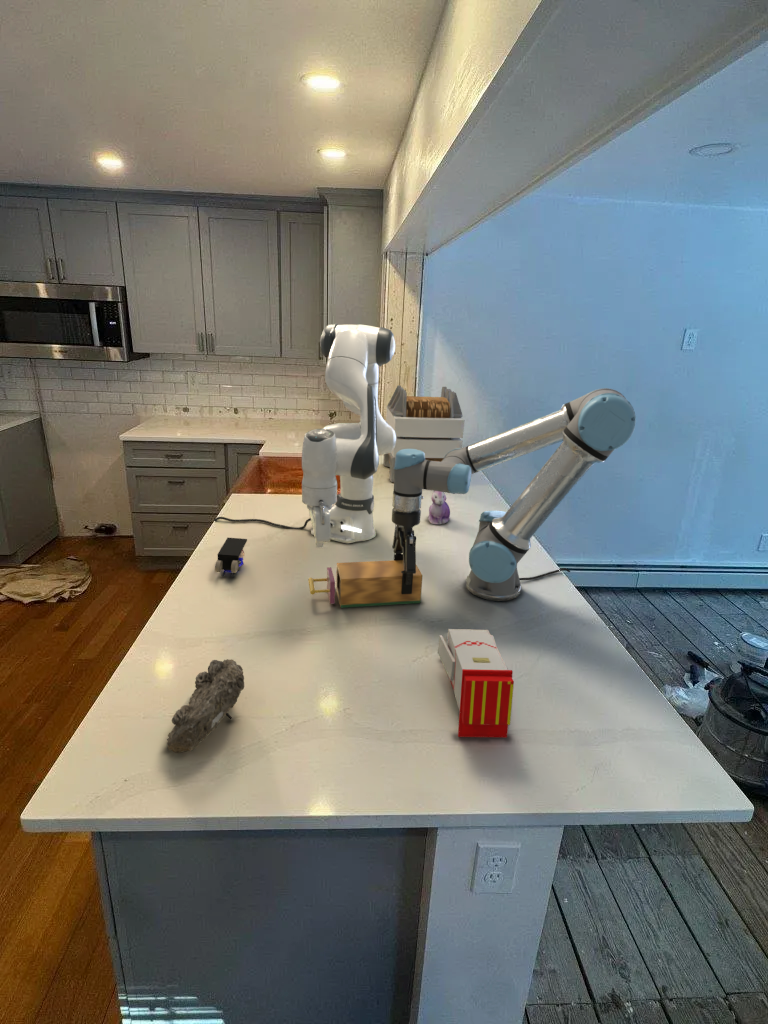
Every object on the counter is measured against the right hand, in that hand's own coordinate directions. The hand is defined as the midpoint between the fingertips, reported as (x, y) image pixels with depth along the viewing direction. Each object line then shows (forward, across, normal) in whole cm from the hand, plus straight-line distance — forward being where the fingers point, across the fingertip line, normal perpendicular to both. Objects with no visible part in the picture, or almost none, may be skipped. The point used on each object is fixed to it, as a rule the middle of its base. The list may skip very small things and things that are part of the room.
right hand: (402, 584), depth 156 cm
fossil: (+3, -44, +47) cm, 64 cm away
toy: (+3, -43, -5) cm, 44 cm away
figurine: (+3, +56, -27) cm, 62 cm away
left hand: (-13, 0, +23) cm, 26 cm away
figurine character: (+3, +21, +47) cm, 51 cm away
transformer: (+4, +120, -36) cm, 126 cm away
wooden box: (+3, 0, +7) cm, 7 cm away
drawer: (+2, 0, +13) cm, 13 cm away
